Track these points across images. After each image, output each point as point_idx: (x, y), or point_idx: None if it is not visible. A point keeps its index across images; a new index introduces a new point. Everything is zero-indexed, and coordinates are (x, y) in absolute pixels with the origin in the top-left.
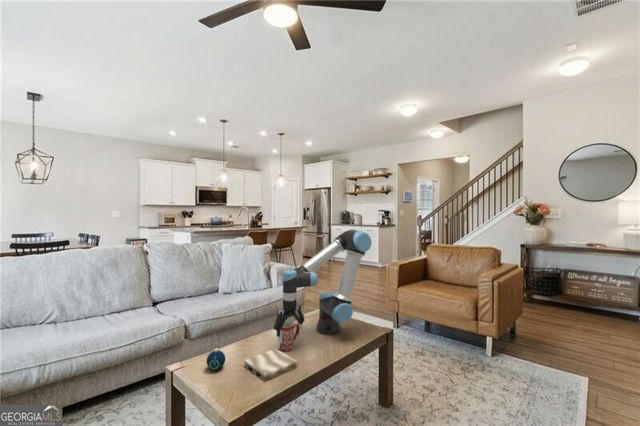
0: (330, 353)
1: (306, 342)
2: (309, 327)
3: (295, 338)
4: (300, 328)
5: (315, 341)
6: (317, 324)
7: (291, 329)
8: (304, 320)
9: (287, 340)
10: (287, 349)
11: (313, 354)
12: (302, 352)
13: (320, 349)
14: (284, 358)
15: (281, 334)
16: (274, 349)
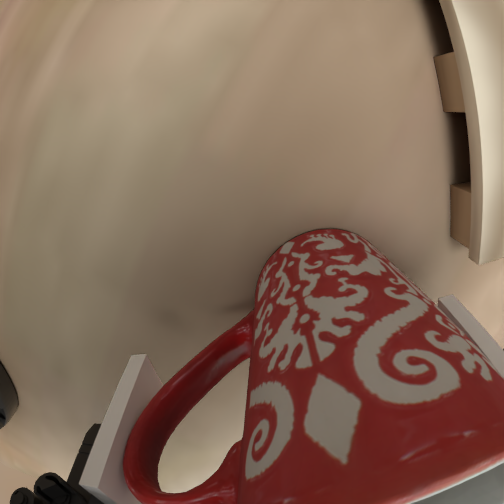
0: (17, 24)
1: (98, 305)
2: (53, 437)
3: (210, 344)
4: (104, 428)
5: (31, 280)
6: (3, 422)
7: (419, 410)
8: (13, 496)
9: (401, 282)
10: (356, 237)
11: (136, 41)
12: (216, 130)
13: (37, 117)
14: (499, 31)
15: (499, 363)
16: (493, 249)
